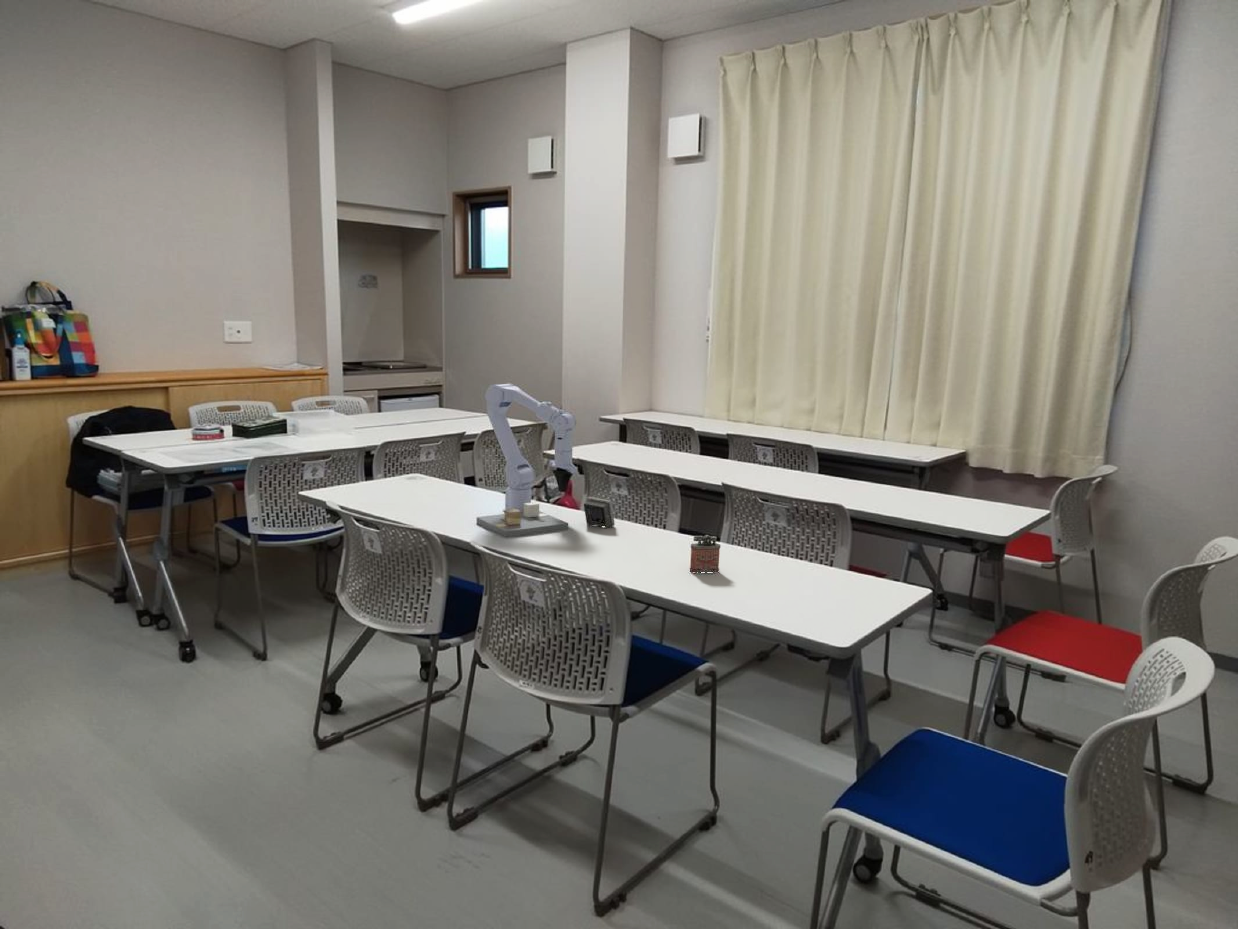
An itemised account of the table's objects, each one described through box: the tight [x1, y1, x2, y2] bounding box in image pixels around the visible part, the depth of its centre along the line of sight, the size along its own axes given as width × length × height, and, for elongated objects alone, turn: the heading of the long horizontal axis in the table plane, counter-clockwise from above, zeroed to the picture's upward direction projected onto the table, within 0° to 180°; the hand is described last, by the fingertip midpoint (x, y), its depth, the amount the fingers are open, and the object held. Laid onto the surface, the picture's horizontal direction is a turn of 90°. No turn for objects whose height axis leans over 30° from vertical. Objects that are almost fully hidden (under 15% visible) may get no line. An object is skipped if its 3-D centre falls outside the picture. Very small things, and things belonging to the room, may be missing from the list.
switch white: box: [524, 501, 540, 517], centre depth 267 cm, size 3×4×4 cm
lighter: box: [689, 534, 721, 573], centre depth 221 cm, size 8×3×10 cm, turn 100°
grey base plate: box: [476, 510, 569, 539], centre depth 262 cm, size 20×22×2 cm
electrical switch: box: [583, 496, 615, 529], centre depth 265 cm, size 9×5×9 cm, turn 57°
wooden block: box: [504, 509, 521, 525], centre depth 256 cm, size 3×4×4 cm
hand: (562, 491), depth 272 cm, fingers closed
